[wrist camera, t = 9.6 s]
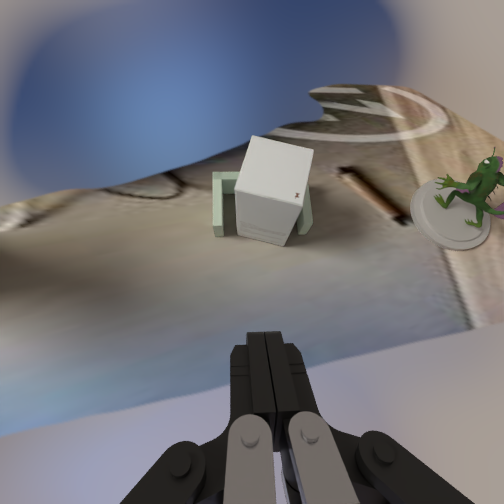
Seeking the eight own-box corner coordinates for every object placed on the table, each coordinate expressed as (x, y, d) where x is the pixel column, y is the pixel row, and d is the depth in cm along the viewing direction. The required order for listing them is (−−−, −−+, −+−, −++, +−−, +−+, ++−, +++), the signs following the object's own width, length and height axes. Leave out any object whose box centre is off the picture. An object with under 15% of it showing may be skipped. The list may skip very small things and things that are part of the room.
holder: (305, 234, 39) (313, 223, 35) (215, 236, 38) (212, 225, 34) (300, 186, 41) (306, 170, 38) (215, 187, 41) (212, 172, 37)
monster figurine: (467, 178, 44) (533, 132, 34) (498, 245, 40) (581, 216, 30) (400, 185, 42) (448, 140, 33) (425, 255, 39) (487, 229, 29)
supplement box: (294, 204, 40) (317, 148, 28) (283, 248, 38) (304, 207, 26) (248, 192, 41) (251, 132, 29) (235, 235, 38) (233, 189, 26)
